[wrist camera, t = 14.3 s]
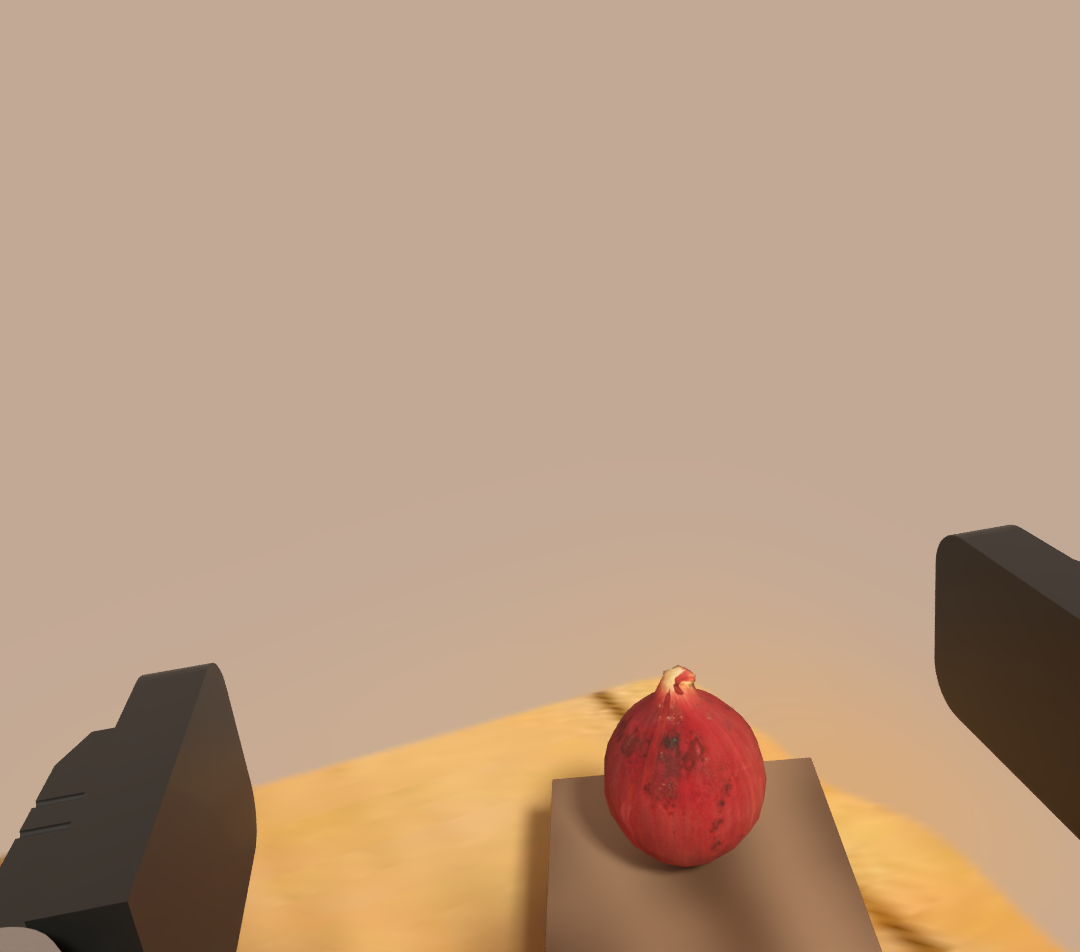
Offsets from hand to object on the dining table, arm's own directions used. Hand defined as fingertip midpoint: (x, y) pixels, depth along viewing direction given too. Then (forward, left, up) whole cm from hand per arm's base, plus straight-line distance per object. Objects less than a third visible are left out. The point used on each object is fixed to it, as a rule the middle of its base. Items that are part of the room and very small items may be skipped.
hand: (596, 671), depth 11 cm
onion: (+2, +21, -21) cm, 29 cm away
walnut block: (+2, +21, -25) cm, 33 cm away
